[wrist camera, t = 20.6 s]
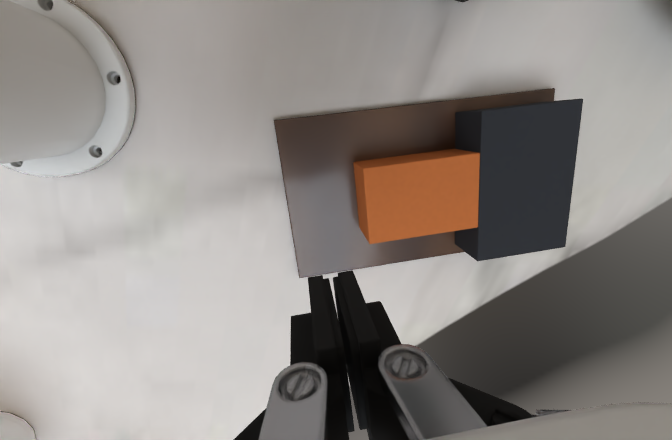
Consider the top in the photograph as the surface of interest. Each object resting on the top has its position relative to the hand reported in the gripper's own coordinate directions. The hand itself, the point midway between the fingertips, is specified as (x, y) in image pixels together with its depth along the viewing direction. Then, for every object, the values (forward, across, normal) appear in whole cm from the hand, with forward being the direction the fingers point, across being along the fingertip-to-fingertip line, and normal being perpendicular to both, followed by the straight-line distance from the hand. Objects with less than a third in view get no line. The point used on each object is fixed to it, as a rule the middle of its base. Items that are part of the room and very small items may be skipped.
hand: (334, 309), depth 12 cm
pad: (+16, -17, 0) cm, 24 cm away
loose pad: (+16, -8, 0) cm, 19 cm away
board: (+17, -10, 0) cm, 20 cm away
